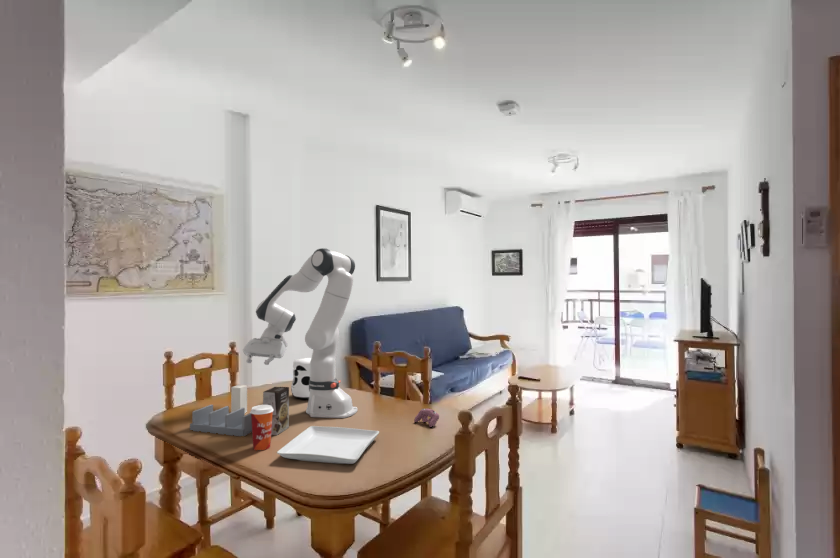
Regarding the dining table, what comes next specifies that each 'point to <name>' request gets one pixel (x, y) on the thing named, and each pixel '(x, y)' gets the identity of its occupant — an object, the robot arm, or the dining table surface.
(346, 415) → the robot arm
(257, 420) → the paper cup
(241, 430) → the rack
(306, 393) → the milk container
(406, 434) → the dining table surface
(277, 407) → the coffee box
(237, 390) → the cream block
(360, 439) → the square plate
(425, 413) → the purple arched piece
